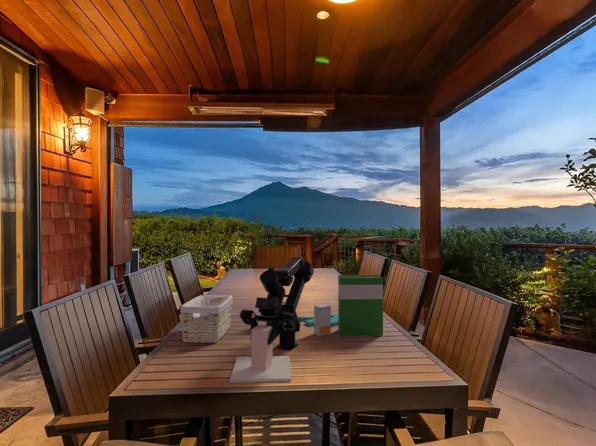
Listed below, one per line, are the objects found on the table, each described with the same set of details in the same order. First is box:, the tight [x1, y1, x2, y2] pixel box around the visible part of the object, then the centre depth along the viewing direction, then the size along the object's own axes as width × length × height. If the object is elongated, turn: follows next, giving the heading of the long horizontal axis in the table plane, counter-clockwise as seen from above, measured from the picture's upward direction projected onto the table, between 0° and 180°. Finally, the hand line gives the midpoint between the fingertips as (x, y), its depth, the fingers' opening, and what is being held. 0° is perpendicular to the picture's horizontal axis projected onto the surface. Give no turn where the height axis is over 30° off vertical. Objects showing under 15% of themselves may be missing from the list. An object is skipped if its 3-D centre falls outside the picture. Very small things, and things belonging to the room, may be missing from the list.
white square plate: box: [229, 355, 292, 384], centre depth 113 cm, size 18×18×1 cm
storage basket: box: [180, 294, 233, 344], centre depth 149 cm, size 24×16×15 cm
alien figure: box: [297, 313, 338, 328], centre depth 169 cm, size 20×2×20 cm
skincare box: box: [313, 303, 332, 337], centre depth 149 cm, size 6×4×12 cm
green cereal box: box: [337, 274, 384, 336], centre depth 151 cm, size 18×7×24 cm, turn 91°
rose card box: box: [250, 324, 273, 371], centre depth 113 cm, size 5×5×12 cm
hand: (260, 343), depth 112 cm, fingers open, 6 cm apart
